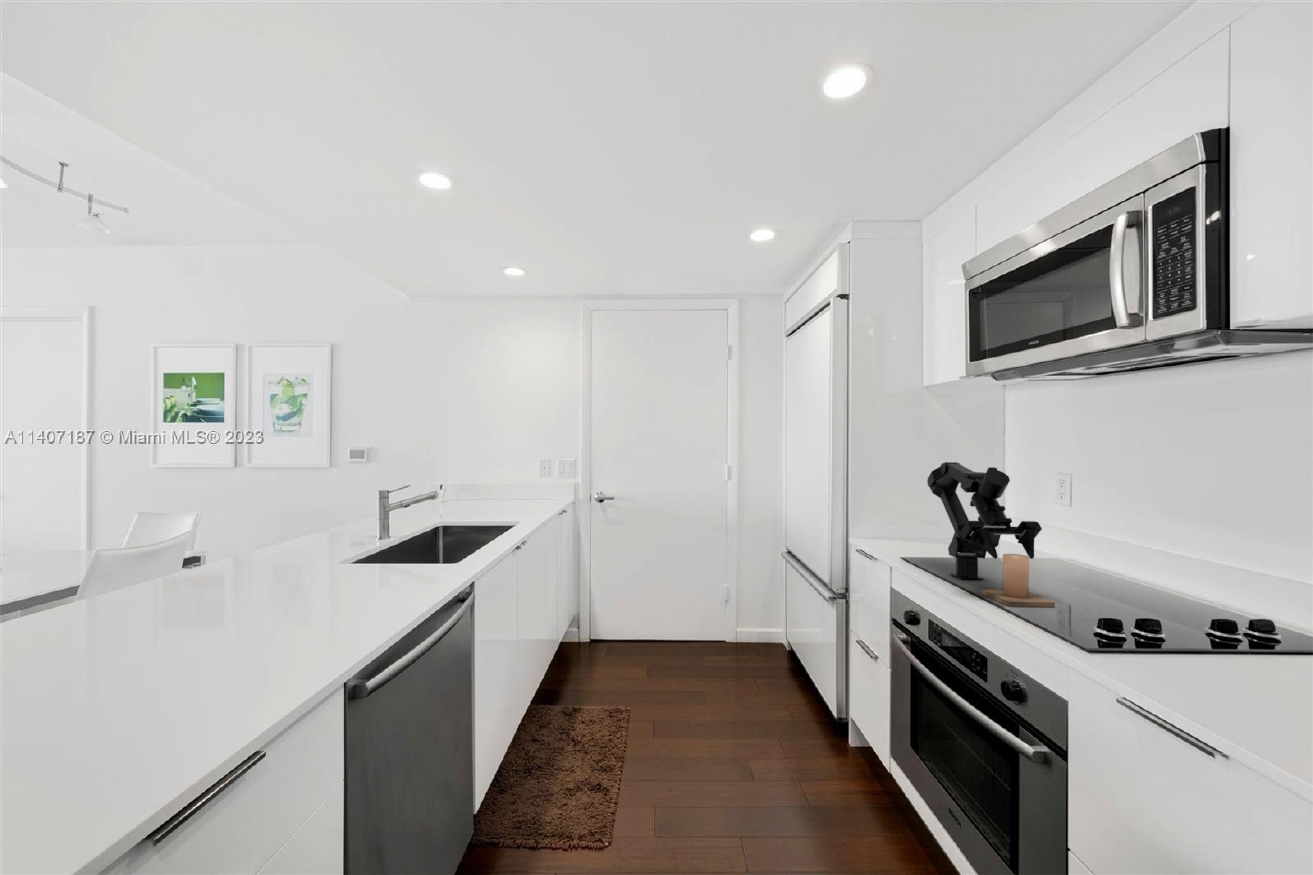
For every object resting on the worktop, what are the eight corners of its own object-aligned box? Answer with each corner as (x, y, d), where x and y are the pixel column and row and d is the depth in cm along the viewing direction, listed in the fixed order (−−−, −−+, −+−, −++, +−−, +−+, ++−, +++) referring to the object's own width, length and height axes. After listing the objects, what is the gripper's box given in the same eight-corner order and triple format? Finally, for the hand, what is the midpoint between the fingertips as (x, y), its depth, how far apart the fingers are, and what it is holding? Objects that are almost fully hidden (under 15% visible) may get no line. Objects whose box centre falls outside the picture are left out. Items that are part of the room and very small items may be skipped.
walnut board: (981, 593, 147) (981, 589, 147) (1022, 594, 147) (1022, 589, 147) (1009, 606, 135) (1009, 601, 135) (1054, 607, 135) (1054, 602, 135)
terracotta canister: (1000, 591, 145) (1000, 553, 145) (1026, 593, 143) (1025, 554, 143) (1005, 596, 140) (1005, 557, 140) (1032, 599, 138) (1031, 558, 138)
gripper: (1010, 527, 159) (1036, 575, 147) (944, 526, 159) (965, 574, 148) (1028, 502, 151) (1057, 551, 140) (959, 502, 151) (982, 550, 140)
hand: (1014, 558), depth 142 cm, fingers open, 9 cm apart
